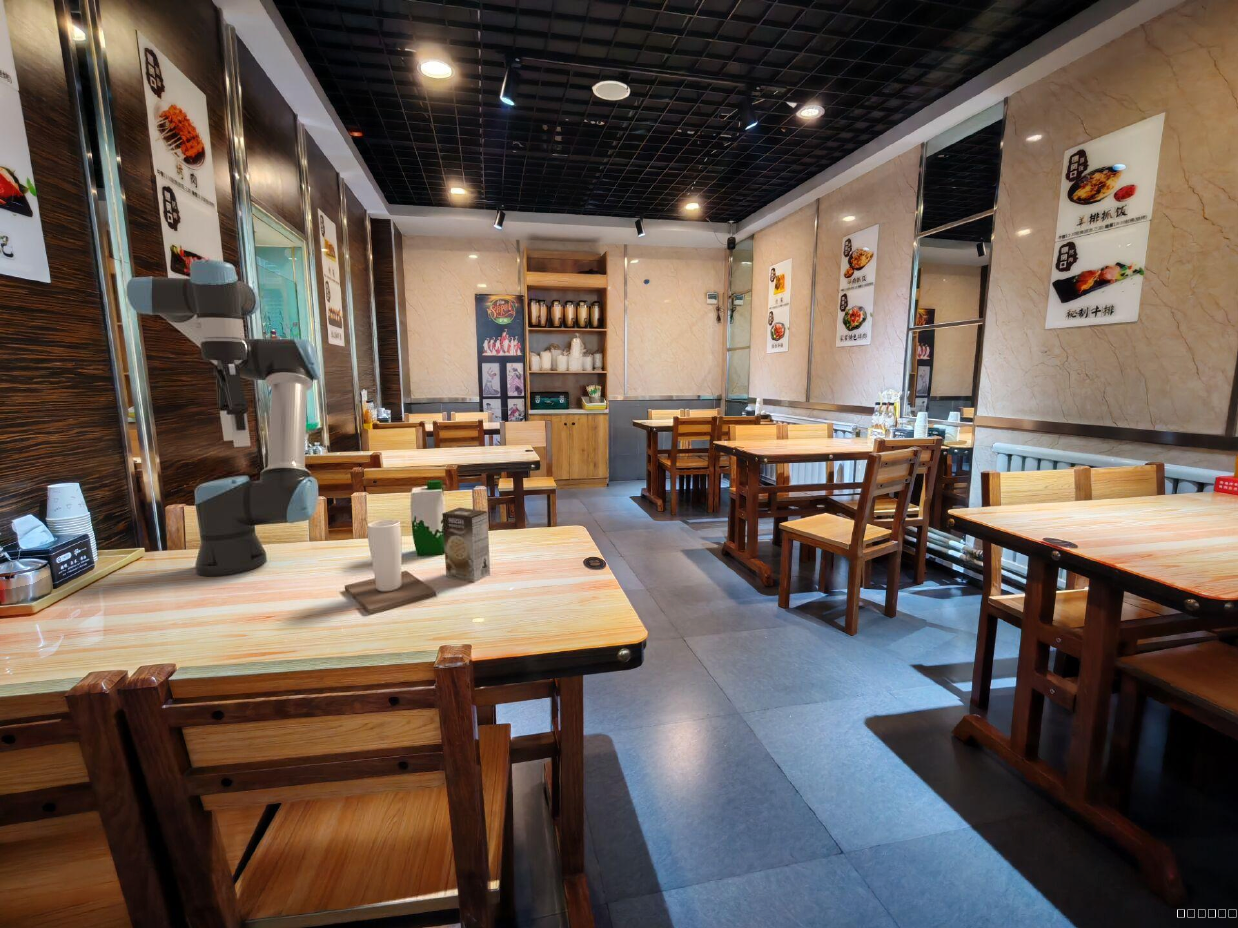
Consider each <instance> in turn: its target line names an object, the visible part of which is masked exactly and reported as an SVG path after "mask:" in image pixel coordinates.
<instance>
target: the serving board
mask: <svg viewBox="0 0 1238 928" xmlns="http://www.w3.org/2000/svg"><path fill="white" fill-rule="evenodd" d="M401 578H402V585H401V587H400V588H398V589H396V590H393V591H388V592H382V591H378V590H377V588H376V581H375V577H374V578H371V579H370V578H369V579H366V580H361V581H357V582H354V583H349V584H348V583H347V584H345V585H344V591H345V593H347V594H348V595H349V596H350V597H351V598H352V599H353V600H355V602H356V603H357V604H358V605H359V606H361V607H362V609H363V610H365V612H367V614H369V615H373V614H374V615H375V614H378V613H381V612H382V613H383V612H385V611H388V610H392V609H395V608H399V607H403V606H406V605H409V604H413V603H416V602H420V601H424V600H427V599H431V598H435V597H437V590H436V589H434V588H433V587H432V586H430V585H428V584H427V583H425V582H424V581H422V580H421V579H419V578H418V577H417V576H415V575H413V574H412V573H411V572H409V571H408V570H403V571H402V570H401Z"/></svg>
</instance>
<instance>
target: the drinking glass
mask: <svg viewBox="0 0 1238 928" xmlns="http://www.w3.org/2000/svg"><path fill="white" fill-rule="evenodd" d="M401 528H402V527H401V522H400V520H397V519H382V520H380V519H379V520H375V521H373V522H369V523H368V524H367V541H368V547H369V552H370V558H371V563H372V568H373V575H374V578H375V581H376V588H377V590H378V591H382V592H388V591H393V590H396V589H398V588H400V587H401V585H402V578H401V572H402V554H403V552H402V551H403V550H402V549H403V547H402V545H403V543H402V539H403V538H402V529H401Z"/></svg>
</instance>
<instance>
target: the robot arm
mask: <svg viewBox="0 0 1238 928" xmlns="http://www.w3.org/2000/svg"><path fill="white" fill-rule="evenodd" d="M189 273H190V274H189V278H185V277H183V278H181V277H180V278H179V277H162V276H161V277H159V276H157V277H156V276H151V275H150V276H144V277H143V276H141V277H138V276H137V277H132V278H130V279H129V280H128V282H127V284H126V296H127V300H128V303H129V305H130V307H131V308H132V309H133V310H134V311H135V312H137V313H138V314H144V315H152V316H154V315H159V316H160V317H161V318H163V319H165V320H166V321H167V322H168V323H170V325H172V326H173V327H175V328H176V329H177V330H178V331H180V333H182V334H183V335H185V337H187V338H188V339H189V340H190V341H191V342H192V343H194V344H195V345H197V346H198V347H199V349H200V350H201V357H202V359H203V360H204V361H210V362H211V363H213V365H214V366H213V368H214V369H213V373H214V377H215V386H216V387H215V389H216V399H217V403H216V405H217V407H218V409H219V415H220V424H221V428H222V438H223V441H224V442H226V441H232V442H233V447H234V448H240V447H251V444H252V443H251V438H250V430H249V421H248V414H247V412H248V411H249V406H248V405H247V400H246V396H245V395H246V394H245V391H244V390H245V389H244V385H243V381H242V378H244V379H247V380H253V381H265V384H266V385H267V386H268V387H269V388H270V389H271V393H270V411H269V412H270V413H269V431H268V432H269V435H268V458H267V467H265V468H263V470H261V471H260V475H259V477H260V478H259V480H250V479H251V478H250V477H249V476H248V475H236V476H231V477H230V476H229V477H226V478H225V477H224V478H219V479H216V480H211V481H207V482H205V483H201V484H199V485H198V486H196V488H195V489H194V506H195V511H196V519H197V525H198V531H199V537H200V545H199V549H198V553H197V557H196V560H195V572H196V575H199V576H203V577H218V576H227V575H234V574H239V573H243V572H246V571H250V570H253V569H256V568H259V567H261V566H263V565H265V564H266V563H267V562H268V557H267V552H266V550H265V548H264V546H263V545H262V543H261V541H260V539H259V537H258V534H257V533H256V532H257V531H256V526H265V525H277V524H294V523H298V522H300V523H301V522H306V521H309V520H310V519H312V517H313V516H314V515H315V512H316V510H317V506H318V501H319V483H318V480H317V479H316V478H315V477H312V472H311V471H310V470H308V469H307V467H306V440H307V439H306V437H307V436H306V435H307V434H306V432H307V396H308V394H307V393H308V391H310V390H312V388H313V387H314V381H317V380H320V379H321V367H320V361H319V358H318V355H317V351H316V349H315V346H314V345H313V343H312V342H311V341H310V340H308V339H302V338H300V339H299V338H245V331H244V322H243V321H244V320H243V319H242V318H247V317H250V316H253V315H254V314H256V313H257V312H258V310H259V307H260V303H261V299H260V296H259V294H258V292H257V291H256V290H255V289H254V288H253V287H251V286H250V285H249V284H247V283H245V282H243V281H241V280H238V279H239V277H238V275H237V272H236V267H235V266H234V265H233V264H232V263H230V262H226V261H219V260H211V259H196V260H193V261H192V262H190V264H189Z"/></svg>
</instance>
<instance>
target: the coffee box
mask: <svg viewBox="0 0 1238 928" xmlns="http://www.w3.org/2000/svg"><path fill="white" fill-rule="evenodd" d="M442 515H443V532H444V548H445V554H444V559H445V560H444V561H445V563H444V564H445V577H447V578H451V579H456V580H461V581H467V582H473V583H475V582H478V581H480V580H481V579H483V578H485V577H487V576H489V575H491V560H490V559H491V558H490V541H489V521H488V520H489V519H488V518H489V517H488V510H480V509H473V508H468V507H467V508H464V507H457V508H454V509H452V510H448V511H446V512H445V513H442Z"/></svg>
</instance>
